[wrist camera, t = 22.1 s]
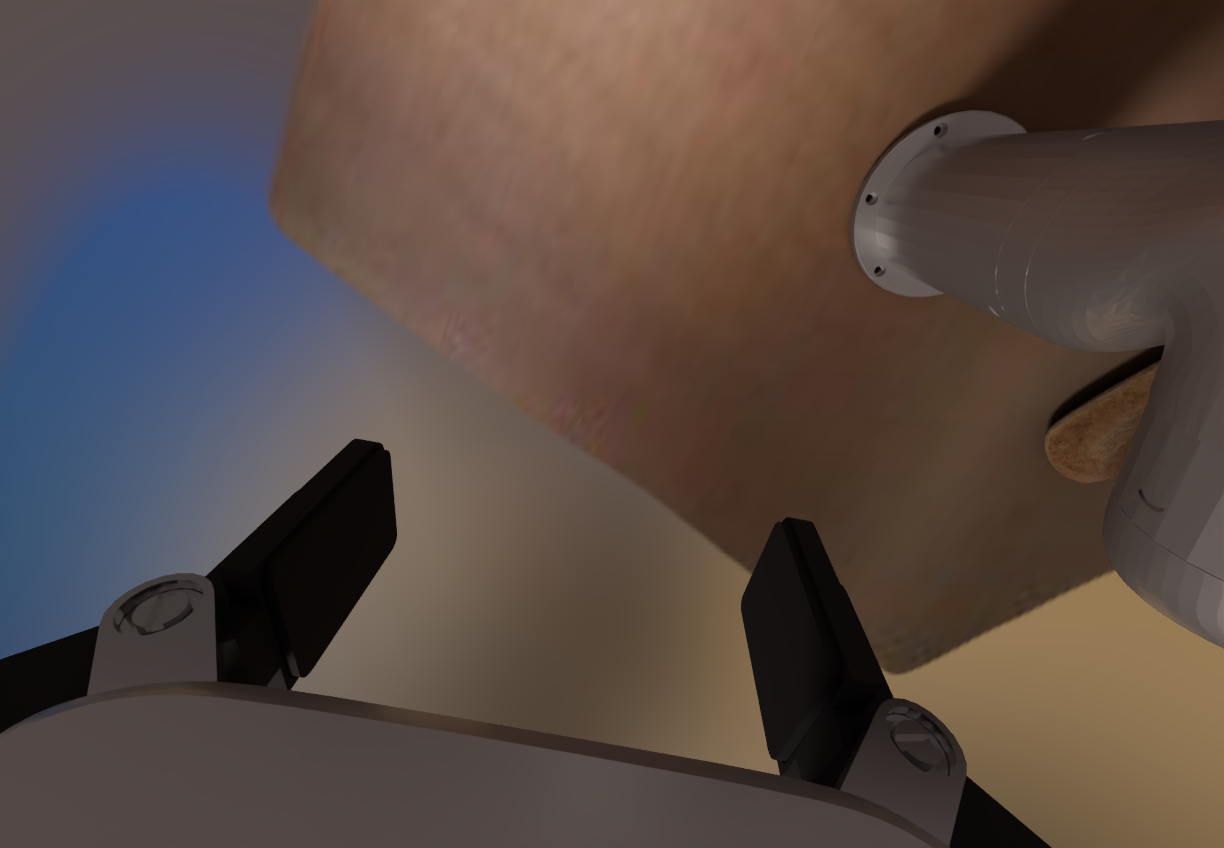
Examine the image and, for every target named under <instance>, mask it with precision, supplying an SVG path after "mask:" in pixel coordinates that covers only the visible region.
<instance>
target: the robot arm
mask: <svg viewBox="0 0 1224 848" xmlns="http://www.w3.org/2000/svg"><path fill="white" fill-rule="evenodd" d="M936 127H937V129H938V131H937V133H936V134H935V135H934V129H935V128H936ZM867 195H870V200H869V201H867V202H866V197H867ZM850 238H851V245H852V250H853V253H854V256H855V258H856V261H857V263H858V265H859V266H860V268H861V269H862V271H863V272H864V274H865V275H866V276H867V277H868V278H870V279H871V280H872V281H873V282H874V283H875V284H877V285H879V286H880V287H882V288H883V289H885V290H888V291H890V292H893V293H895V294H897V295H903V296H908V297H930V296H935V295H941V294H947V295H949V296H951V297H953V298H955V299H958V300H960V301H962V302H964V303H966V304H968V305H970V306H972V307H974V308H977V309H979V310H981V311H983V312H985V313H987V314H989V315H991V316H993V317H996V318H998V319H1000V320H1002V321H1004V322H1006V323H1008V324H1010V325H1012V326H1015V327H1017V328H1019V329H1021V330H1023V331H1025V332H1027V333H1030V334H1033V335H1035V336H1037V337H1039V338H1041V339H1044V340H1046V341H1048V342H1051V343H1053V344H1056V345H1059V346H1063V347H1066V348H1071V349H1075V350H1081V351H1091V352H1122V351H1131V350H1138V349H1144V348H1151V347H1156V346H1161V345H1165V347H1164V351H1163V355H1162V358H1161V361H1160V364H1159V367H1158V369H1157V372H1156V375H1155V377H1154V380H1153V382H1152V385H1151V387H1150V391H1149V399H1148V402H1147V404H1146V407H1145V409H1144V412H1143V414H1142V417H1141V419H1140V422H1139V424H1138V427H1137V429H1136V432H1135V434H1134V436H1133V439H1132V441H1131V444H1130V446H1129V449H1128V451H1127V454H1126V456H1125V459H1124V461H1123V464H1122V466H1121V469H1120V471H1119V474H1118V476H1117V479H1116V482H1115V484H1114V487H1113V490H1112V492H1111V495H1110V497H1109V500H1108V504H1107V507H1106V511H1105V514H1104V520H1103V529H1102V533H1103V543H1104V547H1105V550H1106V553H1107V556H1108V558H1109V561H1110V562H1111V564H1112V566H1113V567H1114V569H1115V570H1116V572H1117V573H1118V575H1119V576H1120V577H1121V578H1122V580H1123V581H1124V582H1125V583H1126V584H1127V585H1128V586H1129V587H1130V588H1131V589H1132V590H1133V591H1134V592H1135V593H1136V594H1138V595H1139V596H1140V597H1141V598H1142V599H1143V600H1144V601H1145V602H1147V603H1148V604H1149V605H1151V606H1152V607H1153V608H1155V609H1156V610H1158V611H1159V612H1161V613H1162V614H1163V615H1165V616H1166V617H1168V618H1170V619H1171V620H1173V621H1174V622H1176V623H1177V624H1179V625H1181V626H1182V627H1184V628H1186V629H1188V630H1189V631H1191V632H1193V633H1195V634H1197V635H1199V636H1201V637H1202V638H1204V639H1206V640H1208V641H1210V642H1212V643H1214V644H1216V645H1218V646H1220V647H1222V648H1224V120H1215V121H1203V122H1188V123H1174V124H1160V125H1144V126H1128V127H1113V128H1097V129H1081V130H1066V131H1050V132H1035V133H1028V132H1027V131H1026V130H1025V128H1024V127H1023V126H1022V125H1021V124H1019V123H1018V122H1016V121H1014V120H1013V119H1011V118H1010V117H1008V116H1005V115H1002V114H999V113H996V112H993V111H981V110H969V111H961V112H955V113H951V114H947V115H943V116H939V117H936V118H934V119H932V120H930V121H927V122H925V123H923V124H921V125H919V126H917V127H916V128H914V129H913V130H911V131H910V132H908V133H906V134H905V135H903V136H902V137H901V138H900V139H899V140H897V141H896V142H895V143H894V144H893V145H892V146H891V147H890V148H888V149H887V150H886V151H885V152H884V154H883V155H882V156H881V157H880V158H879V160H878V161H877V162H876V163H875V164H874V166H873V167H872V169H871V170H870V172H869V173H868V175H867V177H866V178H865V180H864V182H863V183H862V186H861V188H860V190H859V193H858V195H857V197H856V200H855V203H854V207H853V211H852V215H851V225H850ZM876 267H879V268H878V270H877V271H876V272H874V270H875V269H876ZM396 539H397V527H396V515H395V505H394V492H393V480H392V468H391V456H390V453H389V451H387V450H384V447H383V445H382V444H381V443H378V442H372V441H367V440H361V439H354V440H352V441H351V442H350V443H349V444H348V445H347V446H346V447H345V448H344V449H343V450H342V451H340V452H339V453H338V454H337V455H336V456H335V457H334V458H333V459H332V460H331V461H330V462H329V463H328V464H327V465H326V466H324V467H323V468H322V469H321V470H320V471H319V472H318V473H317V474H316V475H315V476H314V477H313V478H312V479H311V480H309V481H308V482H307V483H306V484H305V485H304V486H303V487H302V488H301V489H300V490H299V491H297V492H295V493H294V494H293V495H292V496H291V497H290V498H289V499H288V500H287V501H286V502H285V503H283V504H282V505H281V506H280V507H279V508H278V509H277V510H276V511H275V512H274V513H273V514H272V515H271V516H270V517H268V518H267V519H266V520H265V521H264V522H263V523H262V524H261V525H260V526H259V527H258V528H257V529H256V530H255V531H254V532H253V533H251V534H250V535H249V536H248V537H247V538H246V539H245V540H244V541H243V542H242V543H241V544H240V545H239V546H238V547H236V548H235V549H234V550H233V551H232V552H231V553H230V554H229V555H228V556H227V557H226V558H225V559H224V560H223V561H221V562H220V563H219V564H218V565H217V566H216V567H215V568H214V569H213V570H212V571H211V572H210V573H209V574H208V575H207V576H205V577H204V576H201V575H197V574H193V573H177V574H172V575H167V576H162V577H159V578H156V579H153V580H150V581H147V582H145V583H143V584H141V585H139V586H137V587H135V588H133V589H131V590H130V591H128V592H126V593H125V594H124V595H123V596H121V597H120V598H118V599H117V600H116V601H114V603H113V604H112V605H111V606H110V607H109V608H108V609H107V610H106V612H105V613H104V615H103V617H102V620H101V622H100V625H99V626H97V627H94V628H91V629H88V630H85V631H83V632H80V633H77V634H74V635H71V636H68V637H65V638H62V639H59V640H56V641H53V642H50V643H47V644H44V645H42V646H38V647H35V648H33V649H30V650H27V651H24V652H21V653H18V654H15V655H12V656H9V657H6V658H3V659H1V660H0V848H1051V847H1050V846H1049V845H1048V844H1047V843H1045V842H1044V841H1043V840H1042V839H1041V838H1039V837H1038V836H1037V835H1036V834H1035V833H1034V832H1032V831H1031V830H1030V829H1029V828H1028V827H1026V826H1025V825H1024V824H1023V823H1022V822H1021V821H1019V820H1018V819H1017V818H1016V817H1015V816H1013V815H1012V814H1011V813H1010V812H1009V811H1007V810H1006V809H1005V808H1004V807H1003V806H1002V805H1000V804H999V803H998V802H997V801H996V800H994V799H993V798H992V797H991V796H990V795H989V794H987V793H986V792H985V791H984V790H983V789H981V788H980V787H979V786H978V785H977V784H976V783H974V782H973V781H972V780H971V779H970V778H969V777H967V776H966V772H967V771H966V770H967V769H966V768H967V763H966V760H965V757H964V754H963V751H962V749H961V747H960V745H959V744H958V742H957V740H956V738H955V737H954V735H953V734H952V733H951V732H950V731H949V729H948V728H947V727H946V726H945V725H944V723H942V722H941V721H940V720H939V719H938V718H937V717H936V716H934V715H933V714H932V713H931V712H930V711H928V710H926V709H925V708H923V707H921V706H920V705H918V704H916V703H914V702H911V701H908V700H906V699H899V698H893V695H892V693H891V691H890V689H889V686H888V684H887V682H886V680H885V677H884V675H883V673H882V671H881V668H880V666H879V664H878V662H877V659H876V657H875V655H874V653H873V650H872V648H871V646H870V644H869V641H868V639H867V637H866V635H865V632H864V630H863V628H862V626H861V623H860V621H859V619H858V617H857V614H856V612H855V610H854V607H853V605H852V603H851V601H850V598H849V596H848V594H847V592H846V590H845V589H844V587H843V586H842V585H841V584H840V583H839V581H838V578H837V576H836V574H835V571H834V569H833V567H832V565H831V562H830V560H829V558H828V555H827V553H826V551H825V549H824V546H823V544H822V542H821V539H820V537H819V535H818V533H817V530H816V528H815V526H814V524H813V523H812V522H811V521H806V520H801V519H795V518H790V517H787V518H785V519H784V520H783V522H777V523H776V524H775V526H774V528H773V530H772V532H771V534H770V536H769V539H768V541H767V543H766V545H765V548H764V550H763V552H762V554H761V556H760V559H759V561H758V563H757V565H756V567H755V570H754V572H753V574H752V576H751V578H750V581H749V583H748V585H747V587H746V590H745V592H744V594H743V597H742V601H741V612H742V617H743V623H744V628H745V633H746V638H747V643H748V648H749V654H750V658H751V664H752V669H753V674H754V680H755V685H756V690H757V695H758V700H759V705H760V710H761V716H762V721H763V726H764V731H765V736H766V742H767V747H768V751H769V754H770V756H771V758H772V759H774V760H777V762H778V767H779V772H780V775H775V774H770V773H765V772H760V771H755V770H750V769H744V768H739V767H734V766H729V765H724V764H719V763H714V762H708V761H702V760H697V759H691V758H685V757H680V756H674V755H669V754H663V753H658V752H652V751H647V750H641V749H635V748H630V747H624V746H619V745H613V744H607V743H602V742H596V741H590V740H585V739H578V738H573V737H567V736H561V735H556V734H550V733H544V732H539V731H533V730H526V729H521V728H515V727H510V726H504V725H498V724H492V723H486V722H481V721H475V720H468V719H463V718H458V717H451V716H445V715H440V714H434V713H428V712H421V711H416V710H410V709H404V708H397V707H391V706H386V705H380V704H374V703H368V702H362V701H356V700H350V699H344V698H338V697H332V696H325V695H318V694H311V693H305V692H298V691H291V688H292V687H293V686H294V684H295V683H296V681H297V680H298V678H299V677H306V676H307V675H308V674H309V673H310V672H311V671H312V669H313V668H314V666H315V665H316V663H317V662H318V660H319V659H320V657H321V656H322V654H323V653H324V651H325V650H326V648H327V647H328V645H329V644H330V642H331V641H332V639H333V638H334V636H335V634H336V633H337V632H338V630H339V629H340V627H341V626H342V624H343V623H344V621H345V620H346V618H347V617H348V615H349V614H350V612H351V611H352V609H353V608H354V606H355V605H356V603H357V602H358V600H359V599H360V597H361V596H362V594H363V593H364V591H365V590H366V588H367V587H368V585H369V584H370V582H371V581H372V579H373V578H374V576H375V575H376V573H377V572H378V570H379V569H380V567H381V566H382V564H383V563H384V561H385V560H386V558H387V557H388V555H389V554H390V552H391V551H392V549H393V547H394V545H395V542H396Z"/></svg>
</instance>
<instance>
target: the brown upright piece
mask: <svg viewBox="0 0 1224 848" xmlns="http://www.w3.org/2000/svg"><path fill="white" fill-rule="evenodd" d="M1160 361H1161V360H1159V361H1157V362H1155V363H1154V364H1152V365H1150V366H1148V367H1146V368H1145V369H1143V370H1141V371H1139V372H1137V373H1135V374H1133V375H1132V376H1130V377H1128V378H1126V379H1124V380H1123V381H1121V382H1119V383H1118V384H1116V385H1114V386H1112V387H1110V388H1109V389H1107V390H1105V391H1104V392H1102V393H1100V394H1099V395H1097V396H1096V397H1094V398H1092V399H1090V400H1089V401H1087V402H1085V403H1084V404H1082V405H1080V406H1079V407H1077V408H1076V409H1074V410H1072V411H1071V412H1069V413H1068V414H1066V415H1065V416H1063V417H1062V418H1061V419H1059V420H1058V421H1057V422H1056V423H1055V424H1054V425H1052V426H1051V427H1050V428H1049V429H1048V431H1047V432H1046V434H1045V436H1044V448H1045V452H1046V455H1047V457H1048V460H1049V461H1050V463H1051V464H1052V465H1053V466H1054V468H1055V469H1056V470H1057V471H1059V472H1060V473H1061V474H1062V475H1063V476H1065V477H1066V478H1069V479H1072V480H1075V481H1078V482H1081V483H1092V482H1097V481H1102V480H1106V479H1112V480H1114V481H1115V482H1116V479H1117V476H1118V474H1119V471H1120V469H1121V466H1122V464H1123V461H1124V459H1125V456H1126V454H1127V451H1128V449H1129V446H1130V444H1131V441H1132V439H1133V436H1134V434H1135V432H1136V429H1137V427H1138V424H1139V422H1140V419H1141V417H1142V414H1143V412H1144V409H1145V407H1146V404H1147V402H1148V399H1149V391H1150V387H1151V385H1152V382H1153V380H1154V377H1155V375H1156V372H1157V369H1158V367H1159V364H1160Z"/></svg>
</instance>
